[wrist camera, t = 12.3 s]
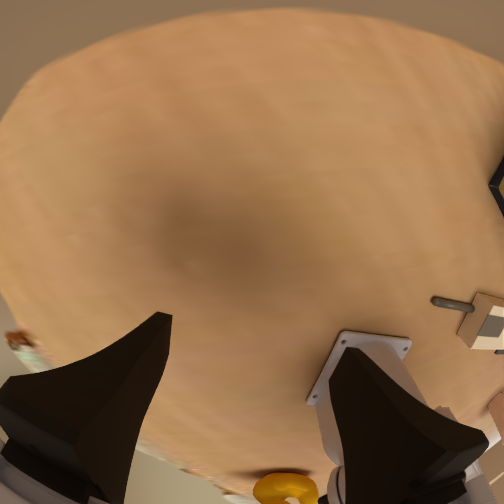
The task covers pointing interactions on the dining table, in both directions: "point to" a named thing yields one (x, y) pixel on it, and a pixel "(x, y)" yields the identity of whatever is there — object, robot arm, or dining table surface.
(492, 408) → the smoothie
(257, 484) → the duckling
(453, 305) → the cream walkie talkie
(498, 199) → the protein box
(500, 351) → the coaster
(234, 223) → the dining table surface
